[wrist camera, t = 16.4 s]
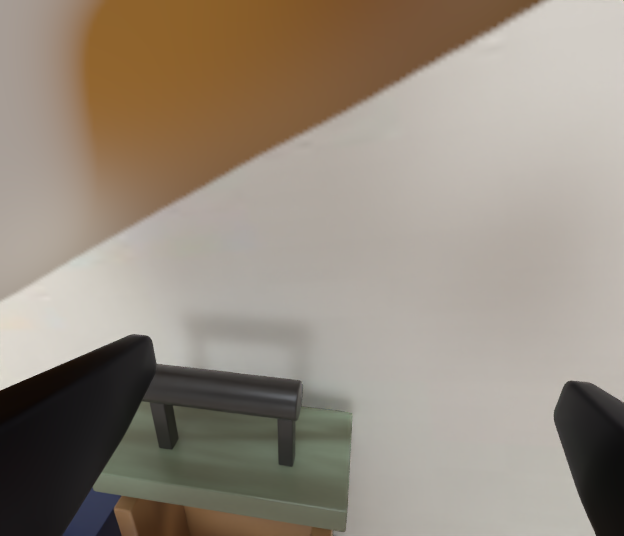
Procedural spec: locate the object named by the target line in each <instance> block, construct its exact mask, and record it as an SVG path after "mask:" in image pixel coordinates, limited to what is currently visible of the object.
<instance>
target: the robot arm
mask: <svg viewBox="0 0 624 536" xmlns="http://www.w3.org/2000/svg"><path fill="white" fill-rule="evenodd" d="M156 367H157V365H156V359H155V353H154V348H153V343H152V340H151V338H150V337H148V336H145V335H135V334H133V335H129V336H127V337H124V338H122V339H120V340H117V341H115V342H113V343H110V344H108V345H106V346H103V347H101V348H99V349H96V350H94V351H92V352H89V353H87V354H85V355H82V356H80V357H78V358H75V359H73V360H71V361H68V362H66V363H64V364H61V365H59V366H57V367H54V368H52V369H50V370H47V371H45V372H43V373H40V374H38V375H36V376H33V377H31V378H29V379H26V380H24V381H22V382H19V383H17V384H15V385H12V386H10V387H8V388H5V389H3V390H1V391H0V536H62V535H63V534H64V532H65V530H66V529H67V527H68V526H69V524H70V522H71V521H72V519H73V518H74V516H75V514H76V513H77V511H78V509H79V508H80V506H81V505H82V503H83V501H84V500H85V498H86V497H87V495H88V493H89V492H90V490H91V489H92V487H93V485H94V484H95V482H96V481H97V479H98V477H99V476H100V474H101V473H102V471H103V469H104V468H105V466H106V465H107V463H108V461H109V460H110V458H111V457H112V455H113V453H114V452H115V450H116V448H117V447H118V445H119V444H120V442H121V440H122V439H123V437H124V435H125V433H126V431H127V430H128V428H129V426H130V424H131V422H132V420H133V418H134V416H135V414H136V412H137V410H138V408H139V406H140V404H141V402H142V400H143V398H144V396H145V394H146V392H147V390H148V388H149V386H150V384H151V382H152V380H153V378H154V375H155V373H156ZM554 422H555V425H556V428H557V431H558V434H559V437H560V440H561V443H562V446H563V449H564V453H565V456H566V459H567V462H568V465H569V468H570V471H571V474H572V477H573V480H574V483H575V486H576V488H577V491H578V494H579V497H580V499H581V502H582V504H583V506H584V509H585V511H586V513H587V516H588V518H589V520H590V522H591V525H592V527H593V529H594V531H595V534H596V536H624V403H623V402H621V401H620V400H618V399H617V398H615V397H613V396H612V395H610V394H609V393H607V392H605V391H604V390H602V389H601V388H599V387H597V386H596V385H594V384H592V383H588V382H579V381H568V382H567V383H566V384H565V385H564V387H563V389H562V392H561V394H560V397H559V400H558V402H557V405H556V407H555V410H554Z"/></svg>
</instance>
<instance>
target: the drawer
mask: <svg viewBox="0 0 624 536" xmlns="http://www.w3.org/2000/svg"><path fill="white" fill-rule="evenodd" d="M156 365H157V367H156V373H155V375H154V378H153V380H152V382H151V384H150V386H149V388H148V390H147V392H146V394H145V396H144V398H143V400H142V402H141V404H140V406H139V408H138V410H137V412H136V414H135V416H134V418H133V420H132V422H131V424H130V426H129V428H128V430H127V431H126V433H125V435H124V437H123V439H122V440H121V442H120V444H119V445H118V447H117V448H116V450H115V452H114V453H113V455H112V457H111V458H110V460H109V461H108V463H107V465H106V466H105V468H104V469H103V471H102V473H101V474H100V476H99V477H98V479H97V481H96V482H95V484H94V485H93V490H94V491H96V492H102V493H109V494H115V495H121V497H120V499H119V501H118V502H117V504H116V505H115V507H114V513H115V516H116V519H117V522H118V525H119V528H120V532H121V535H122V536H333V530H335V531H341V532H345V530H346V519H347V507H348V488H349V470H350V451H351V432H352V413H350V412H342V411H334V410H325V409H317V408H309V407H301V403H302V393H303V384H302V381H300V380H292V379H284V378H275V377H266V376H258V375H249V374H240V373H232V372H223V371H214V370H206V369H197V368H188V367H180V366H171V365H162V364H156Z"/></svg>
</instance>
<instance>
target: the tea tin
mask: <svg viewBox="0 0 624 536" xmlns="http://www.w3.org/2000/svg"><path fill="white" fill-rule="evenodd" d="M120 497H121V495H115V494H109V493H102V492H96V491H94V490H93V487H92V489H91V490H90V492H89V493H88V495H87V497H86V498H85V500H84V501H83V503H82V505H81V506H80V508H79V509H78V511H77V513H76V514H75V516H74V518H73V519H72V521H71V522H70V524H69V526H68V527H67V529H66V530H65V532H64V534H63V535H62V536H122V535H121V532H120V528H119V525H118V522H117V519H116V516H115V513H114V507H115V505H116V504H117V502H118V501H119V499H120Z"/></svg>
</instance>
